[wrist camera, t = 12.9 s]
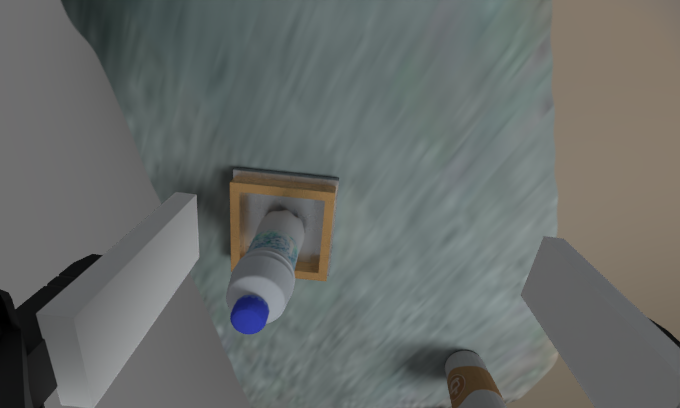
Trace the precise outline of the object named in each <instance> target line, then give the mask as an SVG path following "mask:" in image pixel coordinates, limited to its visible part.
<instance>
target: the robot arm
mask: <svg viewBox="0 0 680 408" xmlns="http://www.w3.org/2000/svg"><path fill="white" fill-rule="evenodd" d="M198 259H199V240H198V217H197V194H189V193H180V192H175V193H174V194H173V195H172V196H171V197H169V198H168V199H167V200H166V201H165V202H164V203H163V204H161V205H160V206H159V207H158V208H157V209H156V210H154V211H153V212H152V213H151V214H150V215H149V216H148V217H146V218H145V219H144V220H143V221H142V222H141V223H139V224H138V225H137V226H136V227H135V228H134V229H133V230H131V231H130V232H129V233H128V234H127V235H126V236H125V237H124V238H122V239H121V240H120V241H119V242H118V243H116V245H114V246H113V247H112V248H111V249H110V250H108V251H107V252H106V253H105V254H104V255H96V254H91V255H89V256H87V257H85V258H83V259H81V260H79V261H76V262H74V263H73V264H71V265H70V266H69V267H68V268H66V269H65V270H64V271H63V272H61V273H60V274H59V277H55V278H54V279H53V280H51V281H50V282H49V283H48V284H47V286H44V287H43V288H41V289H40V290H39V291H38V292H36V293H35V294H34V295H33V296H32V297H30V298H29V299H28V300H27V301H25V302H24V303H23V304H22V305H20V306H19V307H18V308H17V309H15V308H14V304H13V301H12V298H11V296H10V295H9V293H8V292H6V291H3V290H0V408H45V406H44V402H45V401H46V399H47V398H48V397H49V396H50V395H51V393H52V392H53V391H54V390H55V389H56V388H57V392H58V396H59V399H60V403H61V405H65V406H75V407H84V408H94V407H95V406H96V405H97V403H98V402H99V400H100V399H101V397H102V396H103V395H104V393H105V392H106V390H107V389H108V387H109V386H110V385H111V383H112V382H113V380H114V379H115V377H116V376H117V375H118V373H119V372H120V370H121V369H122V367H123V366H124V365H125V363H126V362H127V360H128V359H129V357H130V356H131V354H132V353H133V352H134V350H135V349H136V347H137V346H138V344H139V343H140V342H141V340H142V339H143V337H144V336H145V334H146V333H147V332H148V330H149V328H150V327H151V326H152V324H153V323H154V321H155V320H156V319H157V317H158V316H159V314H160V313H161V311H162V310H163V309H164V307H165V306H166V304H167V303H168V301H169V300H170V299H171V297H172V296H173V294H174V293H175V291H176V290H177V288H178V287H179V286H180V284H181V283H182V281H183V280H184V278H185V277H186V276H187V274H188V273H189V271H190V270H191V269H192V267H193V266H194V264H195V263H196V261H197V260H198ZM521 296H522V298H523V299H524V301H525V302H526V304H527V305H528V307H529V308H530V310H531V311H532V313H533V314H534V316H535V317H536V319H537V320H538V322H539V323H540V325H541V327H542V328H543V330H544V331H545V333H546V334H547V336H548V337H549V339H550V340H551V342H552V343H553V345H554V346H555V348H556V349H557V351H558V352H559V354H560V355H561V357H562V358H563V360H564V361H565V363H566V364H567V366H568V367H569V369H570V370H571V372H572V373H573V375H574V376H575V378H576V379H577V381H578V382H579V384H580V386H581V387H582V389H583V390H584V392H585V393H586V394H587V396H588V398H589V399H590V401H591V402H592V404H593V405H594V407H595V408H680V342H679V341H678V340H677V339H676V338H675V337H674V336H673V335H672V334H671V333H670V332H668V331H667V330H666V329H664V328H663V327H661V326H660V325H658V324H657V323H655V322H654V321H652V320H651V319H649V318H647V317H646V316H645V315H644V314H643V313H642V312H640V310H639V309H638V308H637V307H635V305H633V304H632V303H631V302H630V301H629V300H628V299H627V298H626V297H625V296H624V295H623V294H622V293H621V292H620V291H619V290H617V288H615V287H614V286H613V285H612V284H611V283H610V282H609V281H608V280H607V279H606V278H605V277H603V275H601V274H600V272H598V271H597V270H596V269H595V268H594V267H593V266H592V265H591V264H590V263H589V262H588V261H587V260H586V259H585V258H583V256H581V255H580V254H579V253H578V252H577V251H576V250H575V249H574V248H573V247H572V246H571V245H570V244H569V243H568V242H567V241H566V240H564V239H561V238H553V237H545V236H544V237H543V240H542V242H541V245H540V247H539V250H538V253H537V255H536V258H535V260H534V263H533V265H532V268H531V270H530V273H529V275H528V278H527V280H526V283H525V285H524V288H523V290H522V293H521Z"/></svg>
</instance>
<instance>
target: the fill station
mask: <svg viewBox="0 0 680 408" xmlns="http://www.w3.org/2000/svg"><path fill="white" fill-rule="evenodd" d="M338 184H339V178H335V177H325V176H315V175H306V174H296V173H287V172H277V171H267V170H258V169H248V168H239V167H235V168H234V169H233V179H232V180H231V181H230V227H231V272H232V271H233V269H234V267H235V266H236V265H237V263H238V261H239V260H240V259H241V258H242V257H243V256H244V255H245V254H246V252H247V251H248V249H249V247H250V245H251V243H252V241H253V239H254V236H255V234H256V231H257V228H258V226H259V224H260V222H261V221H262V219H263V218H264V217H265V216H266V215H267V214H269V213H270V212H272V211H284V210H289V211H291V213H292V214H293V215H294V216H296V217H297V218H300V219H301V221H302V223H303V227H304V241H303V244H302V247H301V249H300V252H299V254H298V258H297V262H296V266H295V270H294V274H295V278H298V279H308V280H318V281H326V279H327V276H329V270H330V260H331V251H332V241H333V232H334V222H335V213H336V203H337V194H338Z"/></svg>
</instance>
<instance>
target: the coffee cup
mask: <svg viewBox="0 0 680 408" xmlns="http://www.w3.org/2000/svg"><path fill="white" fill-rule="evenodd" d="M445 373H446V377H447V384H448V390H449V394H450V399H451V404H452V408H507V407H506V405H505V402H504V400H503V398H502V396H501V394H500V392H499V390H498V388H497V386H496V384H495V382H494V380H493V379H492V377H491V375H490V373H489V372H488V370H487V368H486V366H485V364H484V362H483V360H482V359H481V358H480V357H479V356H478V355H477V354H475V353H474V352H471V351H458V352H455V353H454V354H452V355H451V356H450V357H449V358H448V359H447V361H446V364H445Z"/></svg>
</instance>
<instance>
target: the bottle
mask: <svg viewBox="0 0 680 408" xmlns="http://www.w3.org/2000/svg"><path fill="white" fill-rule="evenodd" d="M303 241H304V227H303V223H302V221H301V219H300V218H297V217H296V216H294V215H293V214H292V213H291V211H289V210H284V211H272V212H270V213H269V214H267V215H266V216H265V217H264V218H263V219H262V221H261V222H260V224H259V226H258V228H257V231H256V234H255V236H254V239H253V241H252V243H251V245H250V247H249V249H248V251H247V252H246V254H245V255H244V256H243V257H242V258H241V259H240V260H239V261H238V263H237V265H236V266H235V267H234V269H233V271H232V274H231V279H230V282H229V286H228V289H227V293H226V301H227V304H228V307H229V309H230V311H231V318H230V319H231V323H232V325H233V327H234V328H235V329H236V330H237V331H239V332H241V333H243V334H254V333H257V332H259V331H260V330H262V328H263V327H264V326H265V324H267V323H270V322H272V321H274V320H276V319H277V318H278V317H280V315H281V314H282V313H283V311H284V309H285V307H286V305H287V303H288V301H289V298H290V297H291V295H292V293H293V290H294V283H295V274H294V270H295V266H296V262H297V258H298V254H299V252H300V249H301V247H302V244H303Z"/></svg>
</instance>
